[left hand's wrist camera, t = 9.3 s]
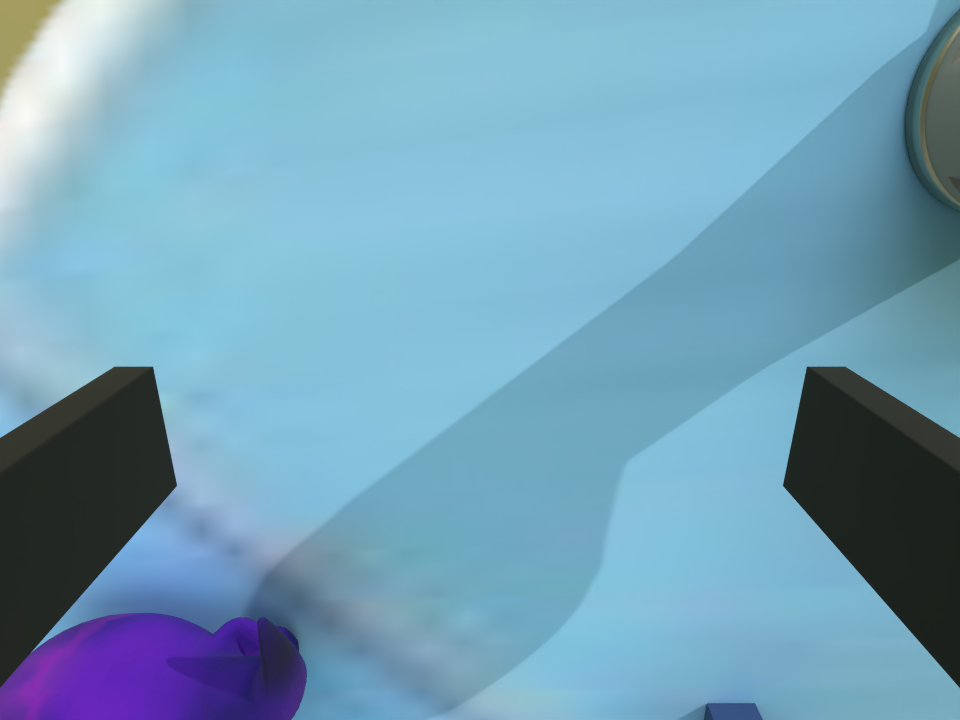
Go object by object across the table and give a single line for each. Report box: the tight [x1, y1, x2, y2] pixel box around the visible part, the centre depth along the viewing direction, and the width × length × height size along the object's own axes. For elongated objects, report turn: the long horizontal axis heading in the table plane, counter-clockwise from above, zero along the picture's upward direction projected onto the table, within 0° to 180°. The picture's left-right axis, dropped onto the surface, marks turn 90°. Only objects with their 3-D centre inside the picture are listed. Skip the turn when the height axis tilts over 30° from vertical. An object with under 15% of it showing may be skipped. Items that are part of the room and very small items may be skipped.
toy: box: [0, 613, 307, 720], centre depth 46 cm, size 16×18×27 cm
